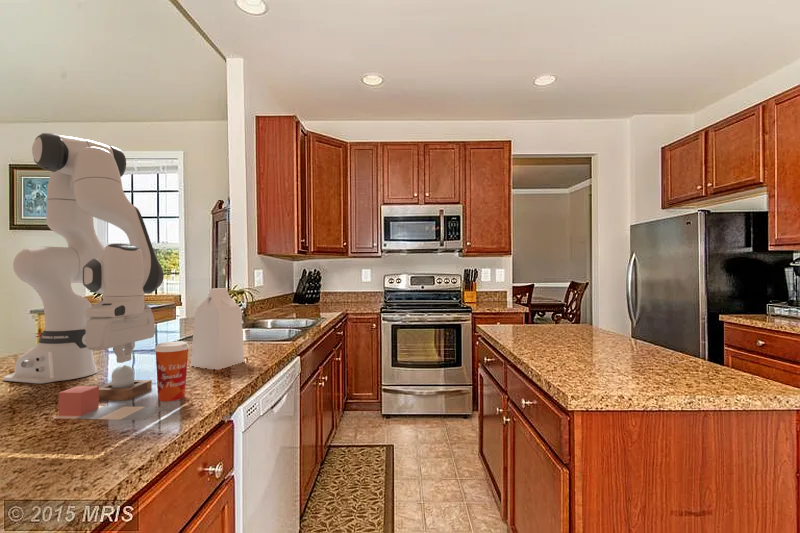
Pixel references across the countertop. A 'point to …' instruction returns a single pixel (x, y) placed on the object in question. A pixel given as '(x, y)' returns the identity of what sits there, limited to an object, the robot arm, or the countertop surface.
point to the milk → (217, 332)
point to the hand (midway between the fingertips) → (124, 361)
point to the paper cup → (171, 370)
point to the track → (118, 413)
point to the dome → (123, 377)
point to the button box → (124, 390)
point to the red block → (78, 400)
